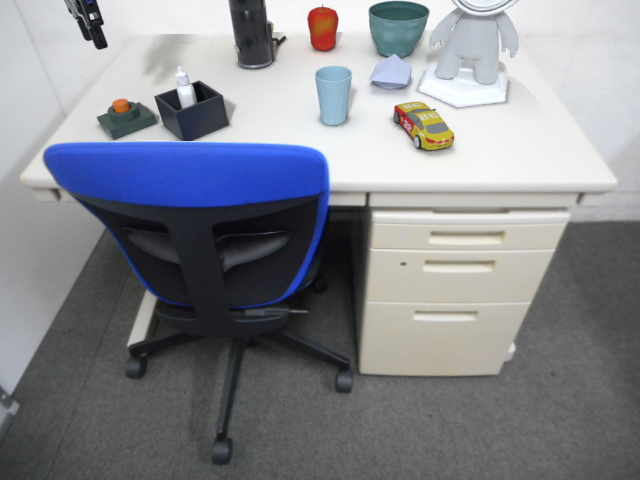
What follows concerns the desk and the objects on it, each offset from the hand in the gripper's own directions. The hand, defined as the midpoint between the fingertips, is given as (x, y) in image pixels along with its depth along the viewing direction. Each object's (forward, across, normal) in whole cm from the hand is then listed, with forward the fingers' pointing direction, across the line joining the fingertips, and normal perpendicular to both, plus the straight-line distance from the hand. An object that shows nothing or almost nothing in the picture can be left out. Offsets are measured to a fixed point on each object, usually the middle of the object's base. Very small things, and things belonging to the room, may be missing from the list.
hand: (96, 43), depth 80 cm
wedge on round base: (+18, -27, -57) cm, 66 cm away
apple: (+18, +2, -60) cm, 63 cm away
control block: (+18, 0, 0) cm, 18 cm away
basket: (+18, -11, -11) cm, 23 cm away
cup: (+18, -30, -35) cm, 49 cm away
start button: (+14, 0, 0) cm, 14 cm away
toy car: (+18, -47, -45) cm, 67 cm away
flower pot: (+18, -14, -73) cm, 76 cm away
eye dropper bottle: (+17, -11, -11) cm, 23 cm away
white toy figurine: (+18, -40, -69) cm, 82 cm away
